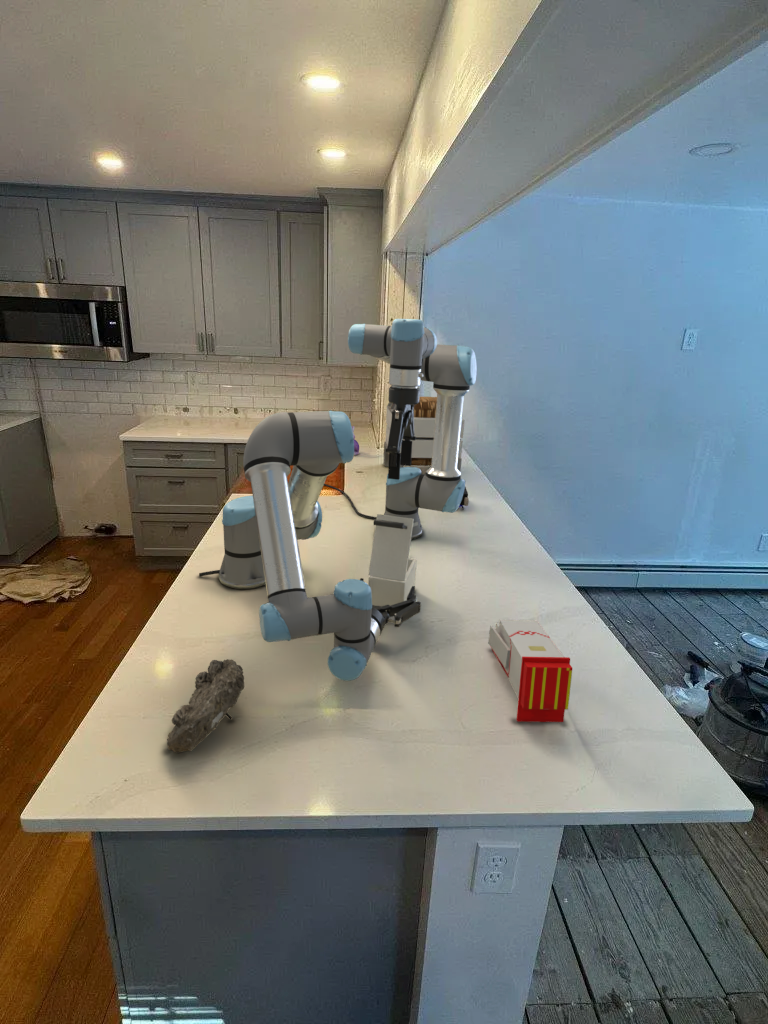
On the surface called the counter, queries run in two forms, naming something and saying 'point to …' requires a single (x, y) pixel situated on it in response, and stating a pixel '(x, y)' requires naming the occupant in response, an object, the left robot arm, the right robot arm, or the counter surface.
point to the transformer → (420, 433)
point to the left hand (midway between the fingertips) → (387, 586)
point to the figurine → (355, 444)
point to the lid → (391, 547)
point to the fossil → (206, 705)
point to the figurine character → (464, 499)
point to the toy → (533, 669)
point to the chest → (392, 587)
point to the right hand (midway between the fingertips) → (399, 471)
